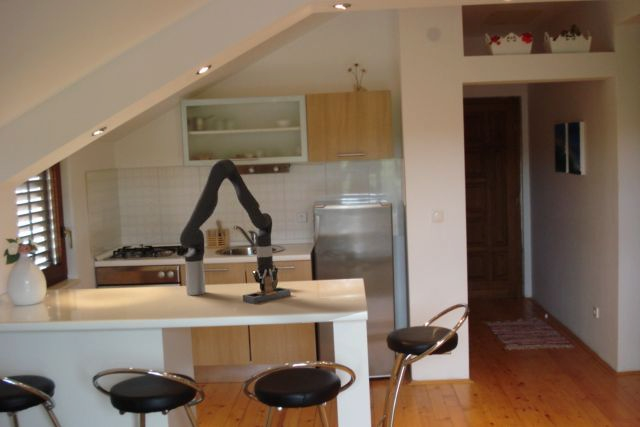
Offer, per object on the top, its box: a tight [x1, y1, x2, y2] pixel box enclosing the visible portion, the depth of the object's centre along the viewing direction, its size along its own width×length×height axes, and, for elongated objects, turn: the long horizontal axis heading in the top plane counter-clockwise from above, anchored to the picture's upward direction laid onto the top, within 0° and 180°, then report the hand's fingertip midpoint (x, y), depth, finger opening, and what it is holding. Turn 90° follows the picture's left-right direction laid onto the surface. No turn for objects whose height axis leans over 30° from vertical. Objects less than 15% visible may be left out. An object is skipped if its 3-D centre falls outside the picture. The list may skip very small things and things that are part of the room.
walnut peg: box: [260, 275, 273, 294], centre depth 339 cm, size 4×4×10 cm
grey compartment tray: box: [242, 287, 292, 305], centre depth 340 cm, size 9×22×3 cm, turn 131°
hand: (266, 290), depth 340 cm, fingers closed on walnut peg, 4 cm apart
